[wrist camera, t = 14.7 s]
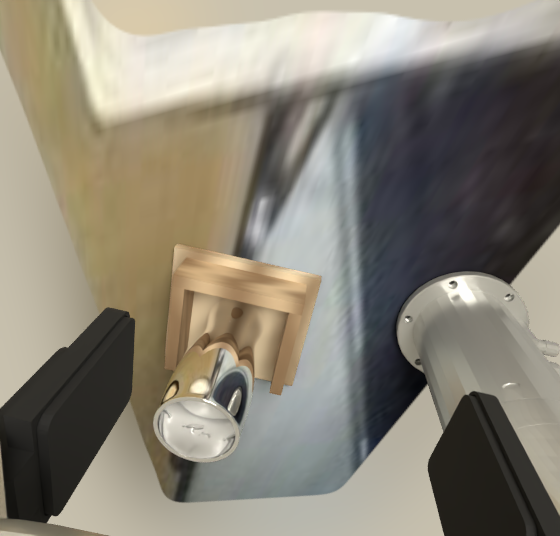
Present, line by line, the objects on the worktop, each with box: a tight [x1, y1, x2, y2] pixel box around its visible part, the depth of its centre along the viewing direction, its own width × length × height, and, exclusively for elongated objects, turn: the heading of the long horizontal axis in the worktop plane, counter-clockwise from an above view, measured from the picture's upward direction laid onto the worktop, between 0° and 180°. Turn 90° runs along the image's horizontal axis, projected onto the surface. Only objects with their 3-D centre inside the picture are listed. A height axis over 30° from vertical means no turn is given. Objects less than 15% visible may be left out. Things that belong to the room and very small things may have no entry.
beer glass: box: [153, 298, 264, 462], centre depth 37 cm, size 7×7×15 cm
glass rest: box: [164, 244, 321, 395], centre depth 42 cm, size 15×14×5 cm
